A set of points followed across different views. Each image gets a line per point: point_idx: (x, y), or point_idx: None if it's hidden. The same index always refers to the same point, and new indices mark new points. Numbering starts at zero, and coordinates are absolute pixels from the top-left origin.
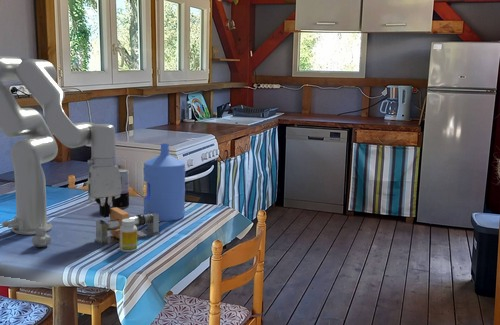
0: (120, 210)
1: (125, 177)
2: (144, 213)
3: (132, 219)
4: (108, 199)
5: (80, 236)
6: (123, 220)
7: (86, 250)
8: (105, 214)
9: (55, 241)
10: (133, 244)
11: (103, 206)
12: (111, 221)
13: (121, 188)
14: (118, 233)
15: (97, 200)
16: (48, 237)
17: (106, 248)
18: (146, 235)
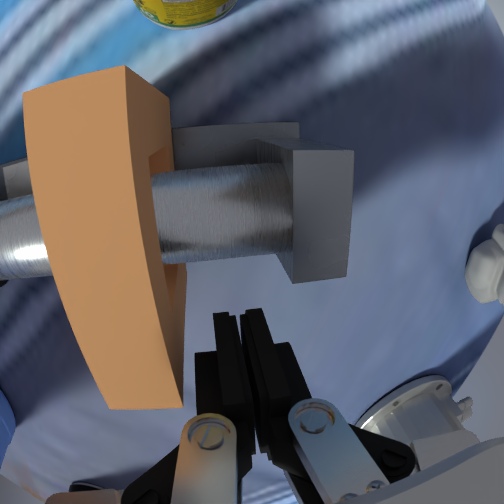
0: (83, 293)
1: None
2: (6, 416)
3: None
4: (235, 485)
5: (327, 317)
6: None
7: (391, 102)
8: (257, 324)
9: (427, 293)
10: None
11: (288, 404)
12: (223, 205)
13: None
14: (170, 159)
15: (401, 452)
16: (494, 257)
17: (294, 63)
18: (8, 164)
